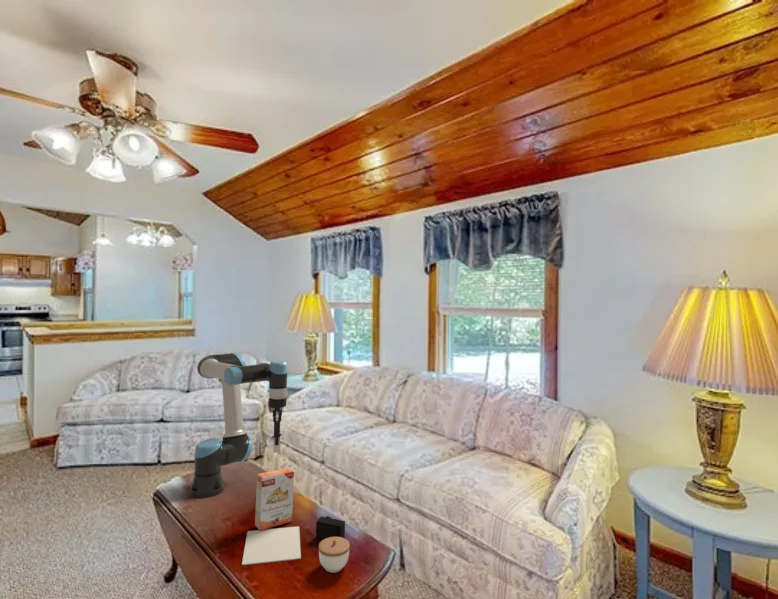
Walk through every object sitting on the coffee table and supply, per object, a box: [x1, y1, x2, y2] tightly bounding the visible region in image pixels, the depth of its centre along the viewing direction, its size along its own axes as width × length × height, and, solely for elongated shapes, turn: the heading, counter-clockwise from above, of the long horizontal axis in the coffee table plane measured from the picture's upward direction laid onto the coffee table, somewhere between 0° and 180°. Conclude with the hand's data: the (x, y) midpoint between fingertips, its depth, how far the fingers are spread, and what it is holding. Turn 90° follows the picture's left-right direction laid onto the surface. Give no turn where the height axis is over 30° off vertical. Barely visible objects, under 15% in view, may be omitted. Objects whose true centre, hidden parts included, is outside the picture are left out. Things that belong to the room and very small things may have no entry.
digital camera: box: [315, 515, 346, 541], centre depth 168 cm, size 10×5×7 cm, turn 72°
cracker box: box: [254, 467, 295, 531], centre depth 178 cm, size 14×6×21 cm, turn 128°
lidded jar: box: [318, 537, 351, 574], centre depth 150 cm, size 11×11×9 cm
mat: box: [241, 526, 302, 566], centre depth 163 cm, size 22×20×1 cm
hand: (276, 451), depth 188 cm, fingers closed
